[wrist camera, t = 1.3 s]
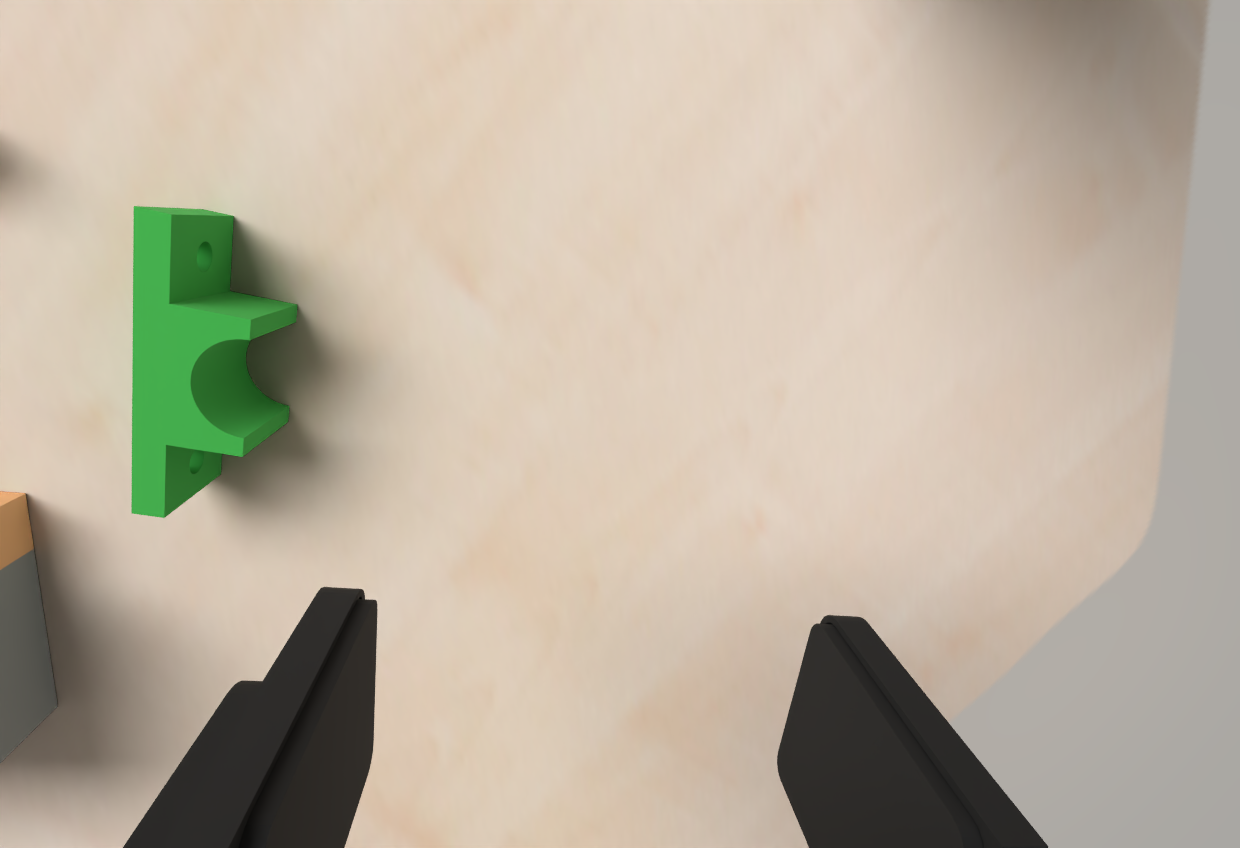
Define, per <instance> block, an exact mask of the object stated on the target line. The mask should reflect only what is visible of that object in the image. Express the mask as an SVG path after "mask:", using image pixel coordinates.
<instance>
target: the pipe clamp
mask: <svg viewBox="0 0 1240 848" xmlns="http://www.w3.org/2000/svg"><path fill="white" fill-rule="evenodd" d="M233 220H234V216H231V215H226V214H222V213H217V212H213V211H208V210H204V209H183V208H161V207H139V206H134V253H133V394H132V513H134V514H141V515H148V516H155V517H162V518H165V517H166V516H167V515H169V514H170V513H171V512H172V511H174V510H175V509H176V508H178V507H179V506H180V505H182V504H183V503H184V502H185V501H187V500H188V499H189V498H191V497H192V496H193V495H195V494H196V493H197V492H198V491H200V490H201V489H202V488H204V487H205V486H206V485H208V484H209V483H210V482H211V481H213V480H214V479H215V478H217V477H218V476H219V475H221V463H222V454H227V455H233V456H240V457H243V456H244V455H246V454H247V453H248V452H250V451H251V450H252V449H254V448H255V447H256V446H257V445H259V444H260V443H261V442H263V441H264V440H265V439H267V438H268V437H269V436H271V435H272V434H273V433H274V432H276V431H277V430H278V429H280V428H281V427H282V426H284V425H285V424H286V423H287V422H288V418H289V406H287V405H283V404H280V403H278V402H276V401H274V400H272V399H270V398H269V397H267V396H266V395H264V394H263V393H262V392H261V391H260V390H259V389H258V388H257V387H256V385H255V384H254V383H253V381H252V379H251V377H250V375H249V373H248V369H247V365H246V352H247V348H248V345H249V343H250V341H251V340H252V339H254V338H257V337H259V336H262V335H264V334H267V333H270V332H272V331H275V330H277V329H280V328H282V327H285V326H288V325H290V324H293V323H295V322H296V318H297V304H292V303H287V302H282V301H277V300H272V299H267V298H262V297H257V296H252V295H247V294H242V293H237V292H232V291H230V281H231V261H232V241H233Z"/></svg>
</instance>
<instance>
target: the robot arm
mask: <svg viewBox="0 0 1240 848" xmlns="http://www.w3.org/2000/svg"><path fill="white" fill-rule="evenodd" d="M376 638H377V601H376V600H365V595H364V591H363V590H362V589H350V588H332V587H323V588H321V589H320V590H319V591H318V593H317V594H316V596H315V597H314V599H313V601H312V602H311V604H310V606H309V607H308V609H307V610H306V612H305V614H304V615H303V617H302V618H301V620H300V622H299V623H298V625H297V627H296V628H295V630H294V631H293V633H292V635H291V636H290V638H289V640H288V641H287V643H286V644H285V646H284V648H283V649H282V651H281V652H280V654H279V656H278V657H277V659H276V661H275V662H274V664H273V665H272V667H271V669H270V670H269V672H268V673H267V675H266V677H265V678H264V680H263V681H240V682H238V683H237V684H235V685H234V686H233V687H232V688H231V690H230V691H229V692H228V693H227V695H226V696H225V698H224V699H223V701H222V702H221V704H220V705H219V707H218V708H217V709H216V711H215V712H214V714H213V715H212V717H211V718H210V720H209V721H208V723H207V724H206V726H205V727H204V729H203V730H202V732H201V733H200V735H199V736H198V738H197V739H196V740H195V742H194V743H193V745H192V746H191V748H190V749H189V751H188V752H187V754H186V755H185V757H184V758H183V760H182V761H181V763H180V764H179V766H178V767H177V769H176V770H175V771H174V773H173V774H172V776H171V777H170V779H169V780H168V782H167V783H166V785H165V786H164V788H163V789H162V791H161V792H160V794H159V795H158V797H157V798H156V800H155V801H154V802H153V804H152V805H151V807H150V808H149V810H148V811H147V813H146V814H145V816H144V817H143V819H142V820H141V822H140V823H139V825H138V826H137V828H136V829H135V831H134V832H133V833H132V835H131V836H130V838H129V839H128V841H127V842H126V844H125V845H124V847H123V848H344V847H345V844H346V841H347V838H348V835H349V831H350V828H351V825H352V822H353V819H354V816H355V813H356V810H357V807H358V804H359V800H360V797H361V794H362V791H363V788H364V785H365V782H366V779H367V776H368V772H369V769H370V764H371V759H372V753H373V740H374V706H375V672H376ZM777 765H778V772H779V776H780V779H781V782H782V784H783V787H784V789H785V791H786V794H787V796H788V799H789V801H790V803H791V806H792V808H793V810H794V813H795V815H796V817H797V820H798V822H799V825H800V827H801V829H802V832H803V834H804V836H805V839H806V841H807V844H808V846H809V848H1048V846H1047V844H1046V843H1045V842H1044V841H1043V839H1042V838H1041V837H1040V836H1039V834H1038V833H1037V832H1036V831H1035V830H1034V828H1033V827H1032V826H1031V825H1030V823H1029V822H1028V821H1027V820H1026V818H1025V817H1024V816H1023V815H1022V813H1021V812H1020V811H1019V810H1018V808H1017V807H1016V806H1015V805H1014V803H1013V802H1012V801H1011V800H1010V799H1009V798H1008V796H1007V795H1006V794H1005V792H1004V791H1003V790H1002V789H1001V787H1000V786H999V785H998V784H997V782H996V781H995V780H994V779H993V778H992V776H991V775H990V774H989V773H988V771H987V770H986V769H985V767H984V766H983V765H982V764H981V763H980V761H979V760H978V759H977V758H976V756H975V755H974V754H973V753H972V751H971V750H970V749H969V748H968V746H967V745H966V744H965V743H964V741H963V740H962V739H961V738H960V736H959V735H958V734H957V733H956V732H955V730H954V729H953V728H952V727H951V725H950V724H949V723H948V722H947V720H946V719H945V718H944V717H943V715H942V714H941V713H940V712H939V710H938V709H937V708H936V707H935V706H934V704H933V703H932V702H931V701H930V699H929V698H928V697H927V696H926V694H925V693H924V692H923V691H922V689H921V688H920V687H919V686H918V684H917V683H916V682H915V681H914V679H913V678H912V677H911V676H910V675H909V673H908V672H907V671H906V670H905V668H904V667H903V666H902V665H901V663H900V662H899V661H898V660H897V658H896V657H895V656H894V655H893V653H892V652H891V651H890V650H889V648H888V647H887V646H886V645H885V644H884V642H883V641H882V640H881V639H880V637H879V636H878V635H877V634H876V632H875V631H874V630H873V629H872V627H871V626H870V625H869V624H868V622H867V621H866V620H864V619H863V618H861V617H852V616H834V615H828V616H825V617H824V618H823V619H822V621H821V623H820V624H815V625H814V626H813V627H812V629H811V631H810V635H809V638H808V642H807V646H806V650H805V653H804V657H803V661H802V665H801V668H800V672H799V676H798V680H797V683H796V687H795V691H794V695H793V698H792V702H791V706H790V710H789V713H788V717H787V721H786V725H785V728H784V732H783V736H782V740H781V743H780V747H779V751H778V756H777Z"/></svg>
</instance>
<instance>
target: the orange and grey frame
mask: <svg viewBox="0 0 1240 848" xmlns="http://www.w3.org/2000/svg"><path fill="white" fill-rule="evenodd" d="M57 707H58V704H57V698H56V691H55V684H54V678H53V671H52V665H51V658H50V652H49V645H48V638H47V632H46V625H45V619H44V612H43V605H42V599H41V592H40V586H39V579H38V572H37V566H36V559H35V553H34V546H33V539H32V533H31V526H30V520H29V513H28V507H27V500H26V493H13V492H0V763H1V762H2V761H3V760H4V759H5V758H6V757H7V756H8V755H9V754H10V753H11V752H12V751H13V750H14V749H15V748H16V747H17V746H18V745H19V744H20V743H21V742H22V741H23V740H24V739H25V738H26V737H27V736H28V735H29V734H30V733H31V732H32V731H33V730H34V729H35V728H36V727H37V726H38V725H39V724H40V723H41V722H42V721H43V720H44V719H45V718H46V717H47V716H48V715H49V714H50V713H51V712H53V711H54V710H55V709H56V708H57Z"/></svg>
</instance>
